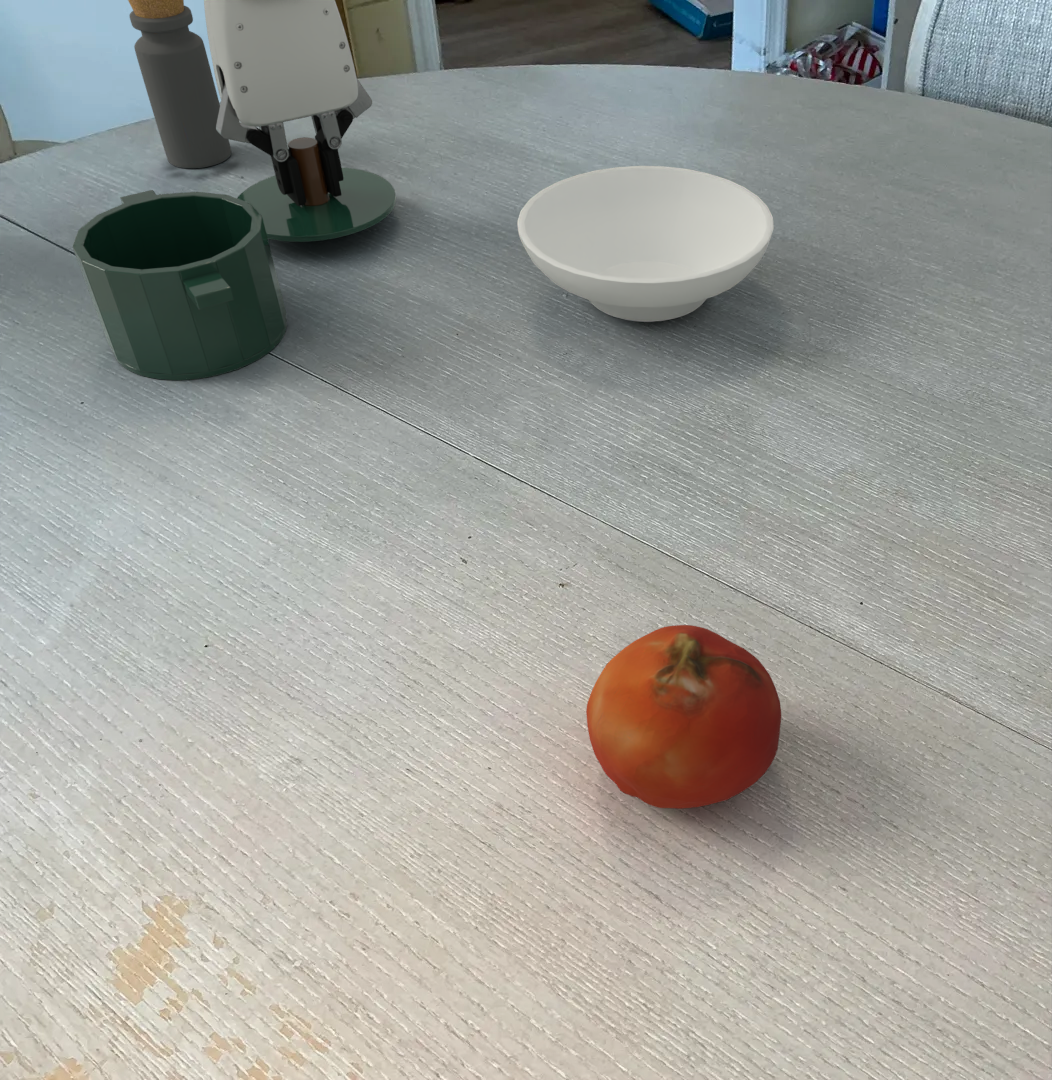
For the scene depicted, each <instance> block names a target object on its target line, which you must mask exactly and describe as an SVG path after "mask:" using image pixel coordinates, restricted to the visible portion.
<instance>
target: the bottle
mask: <svg viewBox="0 0 1052 1080" xmlns="http://www.w3.org/2000/svg"><path fill="white" fill-rule="evenodd" d="M127 1H128V3H129V5H130V7H131V9H132V11H131V12H130V13H129V20H130V24H131V26H132V28H134V29H135V30H137V31H140V33H141V36H140V37H139V38H138V39H137V40H136V42H135V43H134V46H133V47H134V51H135V52H134V53H135V56H136V59H137V63H138V66H139V69H140V74H141V76H142V79H143V83H144V86H145V89H146V94H147V97H148V100H149V104H150V106H151V110H152V112H153V113H152V114H153V117H154V120H155V124H156V127H157V130H158V134H159V137H160V141H161V143H162V146H163V150H164V153H165V156H166V160H167V161H168V163H169V164H170V165H172V166H174V167H177V168H181V169H202V168H209V167H213V166H216V165H219V164H221V163H223V162H225V161H226V160H227V159H229V158H230V157H231V155H232V148H231V143H230V140H229V139H225V138H223V137H222V136H221V135H220V133H219V132H218V131H217V130H216V124H217V119H218V114H219V109H220V104H221V103H220V101H219V96H218V92H217V89H216V88H217V87H216V85H215V84H216V83H215V81H214V77H213V73H212V68H211V65H210V62H209V61H210V60H209V57H208V53H207V51H206V46H205V43H204V40H203V39H202V37H201V36H200V35H199V34H197V33H195V32H193V31H191V30H190V27H189V26H191V24H192V23H193V21H194V17H193V13H192V10H191V8H190V7H188V6H187V5H185V4H184V3H185V1H184V0H127Z"/></svg>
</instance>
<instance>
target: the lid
mask: <svg viewBox="0 0 1052 1080" xmlns="http://www.w3.org/2000/svg"><path fill="white" fill-rule="evenodd" d="M287 146H288V149H289V150H290V153H291V155H292V156H293V157H294V158H295V159H296V160H297V163H298V167H299V171H300V175H301V180H302V184H303V189H304V193H305V198H306V203H305V205H301V206H297V205H296V204H295V203H294V201H293V200H292V199H291V198H290V197H289V196H288V195H287V194H286V195H283V194H282V193H281V191H280V189H279V187H278V184H277V180H276V176H275V175H273V176H270V177H266V178H264V179H262V180H260V181H258V182H255V183H253V184H252V185H250V186H249V187H247V188H246V189H244V191H242V192H241V193H240V194H239V195H238V196H237V197H236V198H237V199H240V200H243V201H246V202H248V203H250V204H251V205H252V206H253V207H254V208H255V209H256V210H257V211H258V212H259V213H260V214H261V215H262V218H263V222H264V226H265V230H266V234H267V238H268V240H272V241H280V242H291V243H292V242H294V243H298V242H299V243H302V242H303V243H306V242H307V243H308V242H318V241H319V242H320V241H327V240H333V239H337V238H338V239H339V238H343V237H347V236H349V235H353V234H357V233H359V232H362V231H365V230H367V229H369V228H371V227H373V226H375V225H377V224H378V223H380V222H382V221H383V220H384V219H385V218H387V217H388V216H389V215H390V214H391V213H392V211H393V210H394V208H395V206H396V205H397V195H396V190H395V188H394V186H393V185H392V183H391V182H390V181H388V180H387V179H386V178H384V177H383V176H381V175H378V174H377V173H374V172H371V171H368V170H363V169H358V168H352V167H343V166H341V168H342V172H343V181H339V184H340V189H341V196H337V197H335V196H332V195H331V194H330V193H329V192H328V188H327V183H326V178H325V174H324V169H323V164H322V159H321V155H320V150H319V145H318V141H317V140H316V139H315V137H307V136H306V137H297V138H293V139H291V140H290V141H289V142H287Z"/></svg>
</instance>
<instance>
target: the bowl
mask: <svg viewBox="0 0 1052 1080" xmlns="http://www.w3.org/2000/svg"><path fill="white" fill-rule="evenodd" d="M516 224H517V230H518V232H517V233H518V236H519V239H520V242H521V244H522V246H523V248H524V249H525V251H526V253H527V255H528V256H529V258H530V260H531V262H532V264H534V266H535V267H536V268H538V269H539V271H540V272H541V273H542V274H543V275H544V276H546V277H547V279H549V280H550V281H551V282H552V283H553V284H554V285H556V286H557V287H559V288H561V289H563V290H564V291H565V292H568V293H570V294H571V295H575V296H577V297H580V298H582V299H585V300H588V301H589V302H590V304H592V306H593V307H595V308H596V309H597V310H599V311H600V312H602V313H604V314H606V315H608V316H611V317H613V318H617V319H622V320H625V321H633V322H644V323H645V322H647V323H651V322H662V321H668V320H675V319H677V318H680V317H683V316H686V315H688V314H690V313H692V312H694V311H696V310H697V309H699V308H701V306H702V305H703V304H704V303H705V301H707V300H708V299H710V298H713V297H716V296H718V295H720V294H723V293H724V292H727V291H729V290H731V289H733V288H734V287H735V286H736V285H738V284H739V283H740V282H742V281H743V280H744V279H746V277H747V276H748V275H749V274H750V273H751V272H752V271H753V270H754V269H755V267H756V266H757V265H758V264H759V263H760V262H761V260H762V259H763V258H764V255H765V253H766V252H767V250H768V247H769V244H770V242H771V239H772V236H773V233H774V227H775V226H774V217H773V215H772V212H771V210H770V208H769V206H768V205H767V204H766V203H765V202H764V201H763V200H762V199H761V198H760V197H759V195H757V194H756V193H754V192H752V191H751V190H749V189H748V188H746V187H745V186H743V185H740V184H738V183H736V182H734V181H732V180H730V179H728V178H724V177H721V176H718V175H715V174H713V173H712V174H711V173H708V172H704V171H699V170H693V169H689V168H682V167H673V166H663V165H631V166H616V167H609V168H601V169H595V170H592V171H586V172H584V173H579V174H576V175H573V176H570V177H567V178H564V179H561V180H559V181H556V182H554V183H552V184H551V185H549V186H547V187H545V188H543V189H541V190H540V191H538V192H536V194H535V195H533V196H532V197H530V198H529V199H528V201H526V203H525V204H524V206H523V207H522V209H521V210H520V212H519V215H518V218H517V221H516Z"/></svg>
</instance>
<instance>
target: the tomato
mask: <svg viewBox="0 0 1052 1080" xmlns="http://www.w3.org/2000/svg"><path fill="white" fill-rule="evenodd" d="M585 715H586V725H587V732H588V738H589V741H590V745H591V747H592V751H593V754H594V756H595V758H596V760H597V762H598V764H599V765H600V767H601V769H602V771H603V773H605V775H606V776H607V778H609V779H610V781H612V782H614V784H615V785H616V786H617V788H618V789H619V791H620V792H622V793H623V794H625V795H627V796H630V797H632V798H638V799H639V800H641V802H643V803H645V804H647V805H649V806H651V807H654V808H659V809H679V810H681V809H691V808H693V809H694V808H699V807H704V806H709V805H712V804H717V803H721V802H724V801H728V800H729V799H731V798H733V797H735V796H737V795H739V794H740V793H743V792H744V791H745V790H748V789H749V788H750V787H751V786H753V785H754V784H756V782H758V781H759V780H760V778H762V777H763V776H764V775H765V774H766V773H767V771H768V770H769V768H770V767H771V766H772V764H773V761H774V760H775V758H776V755H777V752H778V750H779V740H780V735H781V725H782V724H781V723H782V707H781V700H780V697H779V694H778V690H777V689H776V686H775V683H774V681H773V679H772V676H771V674H770V673H769V671H768V670H767V668H765V666H764V664H762V663H761V661H760V660H759V659H758V658H757V657H756V656H755V655H754V654H752V653H751V652H749V650H747V649H746V648H744V647H742V646H740V645H738V644H736V643H735V642H733V641H730V640H729V639H727V638H725V637H723V636H722V635H720V634H718V633H717V632H715V631H712V630H710V629H708V628H705V627H701V626H697V625H692V624H691V625H690V624H676V625H668V626H663V627H660V628H657V629H656V630H653V631H651V632H649V633H647V634H645V635H643V636H641V637H639V638H637V639H635V640H634V641H632V642H631V643H629V644H628V645H627V646H625V647H624V648H623V649H621V650H620V651H619V652H618V653H617V654H616V655H614V656H613V657H612V658H611V659H610V660H609V661H608V662H607V663H606V664H605V666H604V668H603V669H602V671H601V672H600V674H599V676H598V677H597V679H596V681H595V683H594V686H593V688H592V690H591V692H590V693H589V697H588V699H587V703H586V710H585Z"/></svg>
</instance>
